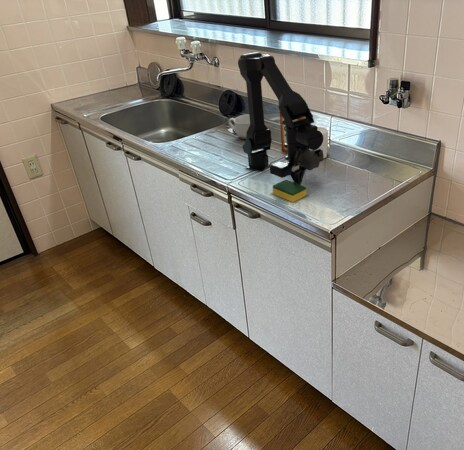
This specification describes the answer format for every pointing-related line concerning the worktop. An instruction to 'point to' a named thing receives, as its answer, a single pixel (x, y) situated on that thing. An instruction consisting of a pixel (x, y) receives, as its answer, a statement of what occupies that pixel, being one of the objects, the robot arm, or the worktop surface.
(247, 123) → the teacup
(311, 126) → the robot arm
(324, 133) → the white cup
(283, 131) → the baking soda box
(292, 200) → the sponge
